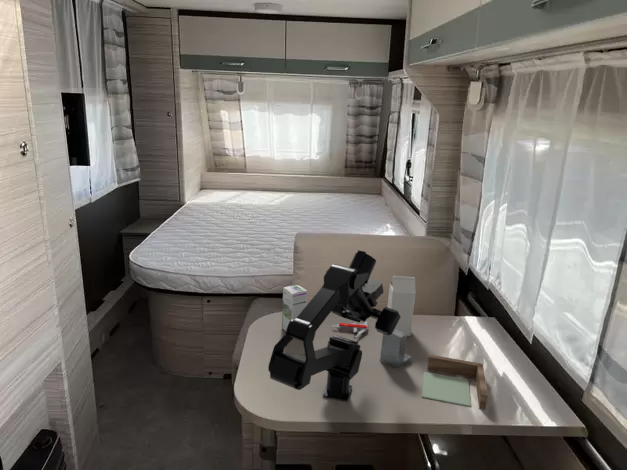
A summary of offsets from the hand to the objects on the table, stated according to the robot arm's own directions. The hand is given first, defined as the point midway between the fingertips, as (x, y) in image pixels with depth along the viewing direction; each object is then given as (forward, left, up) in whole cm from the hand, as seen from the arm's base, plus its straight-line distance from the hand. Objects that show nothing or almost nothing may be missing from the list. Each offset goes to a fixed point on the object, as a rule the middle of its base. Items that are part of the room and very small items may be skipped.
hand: (374, 326), depth 131 cm
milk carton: (+26, -6, -13) cm, 30 cm away
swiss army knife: (+21, +9, -14) cm, 27 cm away
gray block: (+7, -7, -13) cm, 16 cm away
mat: (-3, -21, -13) cm, 25 cm away
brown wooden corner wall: (-1, -23, -13) cm, 26 cm away
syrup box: (+14, +26, -13) cm, 33 cm away
